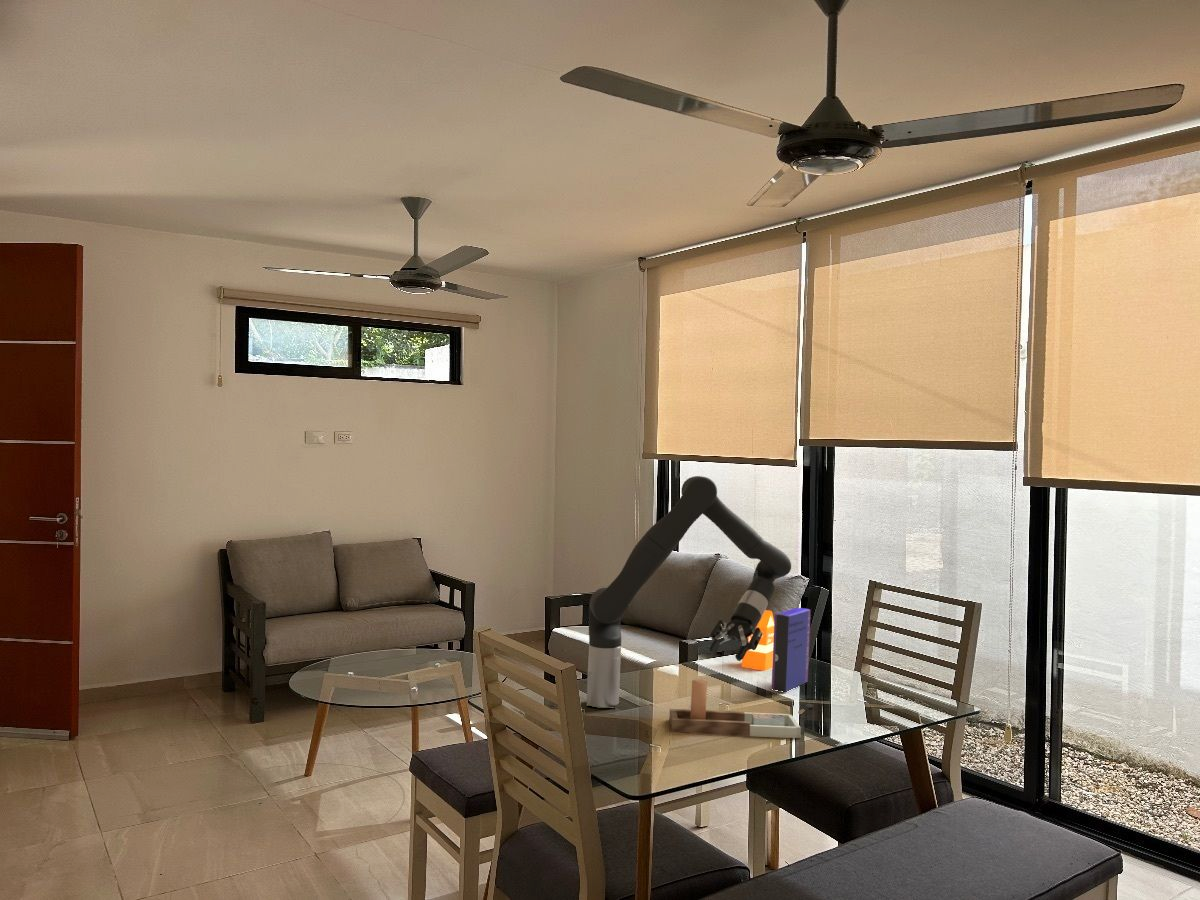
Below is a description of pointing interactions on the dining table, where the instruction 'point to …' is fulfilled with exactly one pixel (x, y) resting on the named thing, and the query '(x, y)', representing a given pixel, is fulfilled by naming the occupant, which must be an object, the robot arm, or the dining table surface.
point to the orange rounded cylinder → (698, 699)
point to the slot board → (710, 723)
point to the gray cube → (776, 720)
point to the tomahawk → (805, 706)
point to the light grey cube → (760, 719)
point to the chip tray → (775, 727)
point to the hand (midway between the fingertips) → (724, 656)
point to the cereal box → (790, 649)
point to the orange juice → (762, 645)
